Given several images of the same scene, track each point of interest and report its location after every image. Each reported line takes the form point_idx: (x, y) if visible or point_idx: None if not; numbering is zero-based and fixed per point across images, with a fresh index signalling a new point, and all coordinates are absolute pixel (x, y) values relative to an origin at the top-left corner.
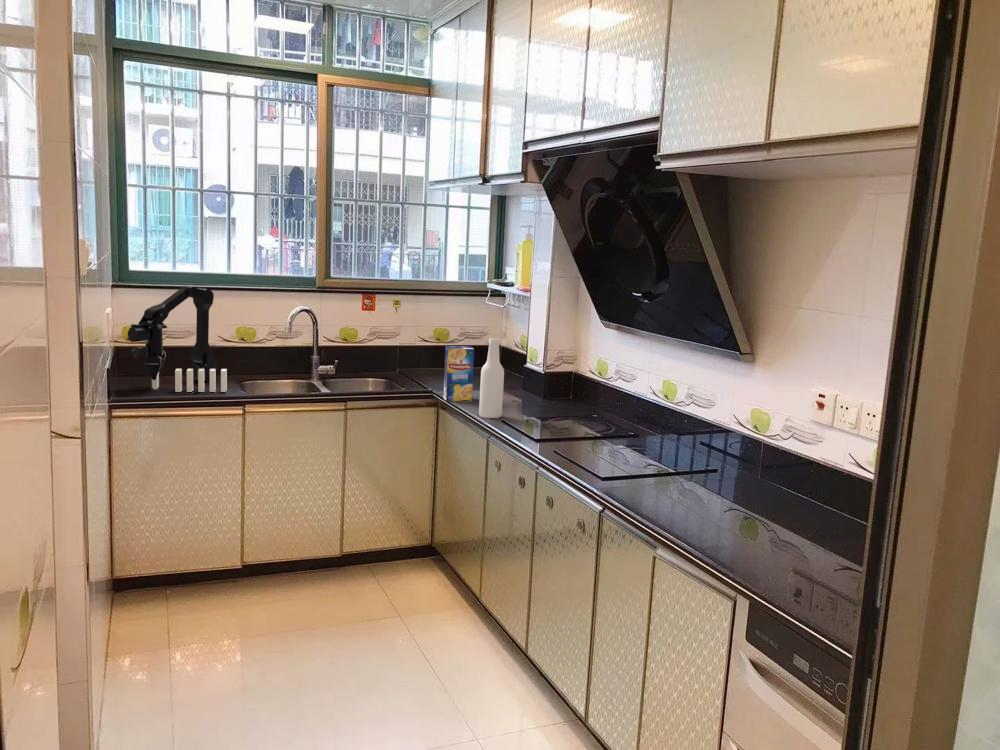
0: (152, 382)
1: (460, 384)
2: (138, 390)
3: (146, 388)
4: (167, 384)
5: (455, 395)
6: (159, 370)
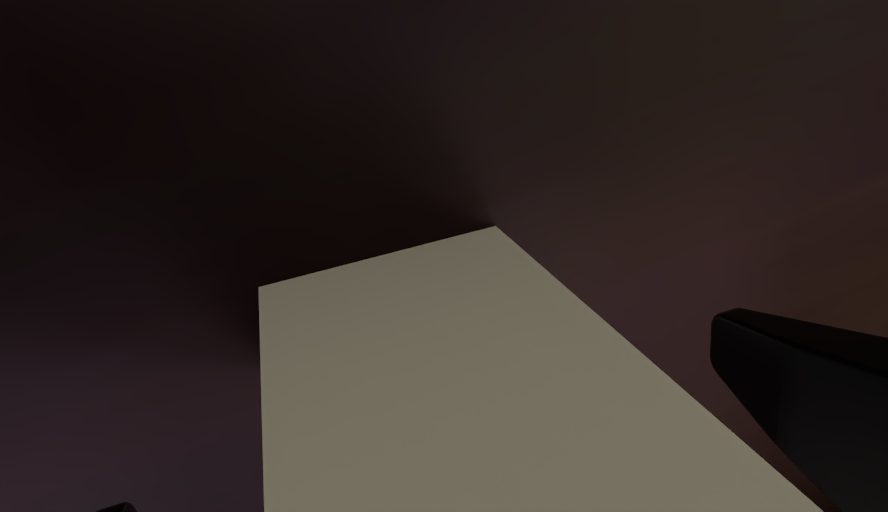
0: (267, 372)
1: None
2: (23, 59)
3: (327, 151)
4: None
5: None
6: (829, 478)
